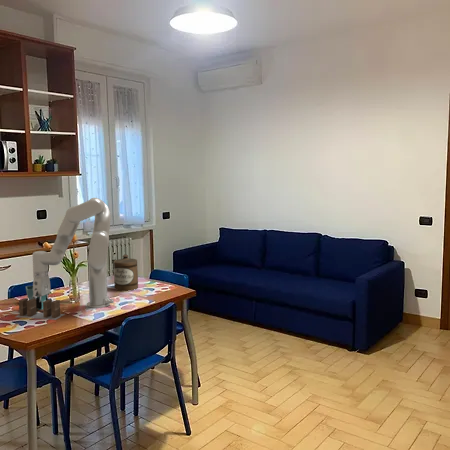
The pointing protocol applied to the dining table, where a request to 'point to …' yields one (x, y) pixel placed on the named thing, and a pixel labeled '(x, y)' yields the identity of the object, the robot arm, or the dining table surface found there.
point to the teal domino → (43, 298)
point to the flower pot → (29, 292)
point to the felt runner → (40, 316)
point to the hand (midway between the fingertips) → (42, 306)
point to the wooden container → (125, 274)
